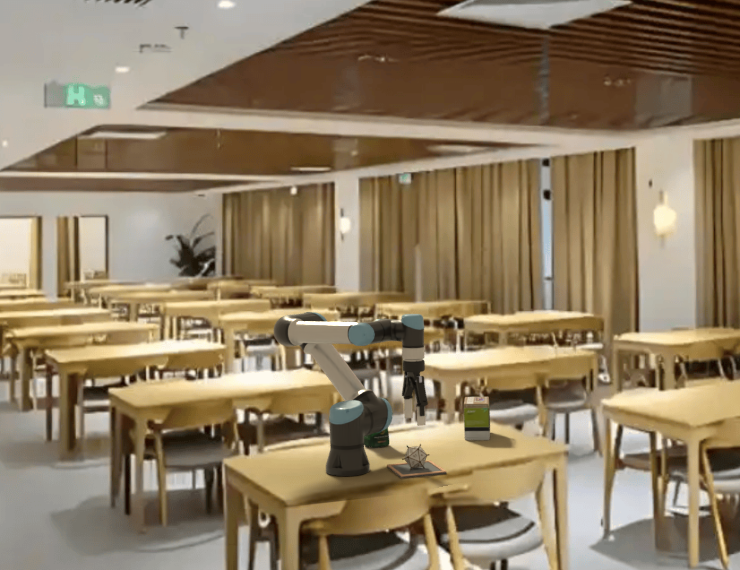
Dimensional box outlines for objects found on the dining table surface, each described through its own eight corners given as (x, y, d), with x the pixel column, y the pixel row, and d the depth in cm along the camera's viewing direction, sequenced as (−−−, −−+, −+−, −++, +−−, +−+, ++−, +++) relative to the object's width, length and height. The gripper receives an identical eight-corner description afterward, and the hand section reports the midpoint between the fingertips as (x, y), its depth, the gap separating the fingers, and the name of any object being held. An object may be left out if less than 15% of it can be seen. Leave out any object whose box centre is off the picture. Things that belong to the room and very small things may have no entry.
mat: (401, 478, 303) (401, 475, 303) (386, 467, 318) (386, 464, 318) (446, 473, 307) (446, 471, 307) (430, 462, 322) (430, 460, 322)
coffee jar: (370, 449, 345) (369, 400, 344) (360, 445, 352) (359, 397, 351) (393, 446, 349) (391, 398, 348) (382, 442, 356) (381, 395, 355)
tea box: (465, 432, 371) (464, 396, 370) (490, 432, 370) (489, 396, 369) (464, 440, 356) (463, 402, 355) (490, 440, 355) (489, 402, 354)
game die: (420, 480, 311) (426, 461, 305) (397, 470, 313) (402, 451, 307) (428, 462, 318) (434, 443, 312) (405, 453, 320) (410, 433, 314)
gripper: (436, 363, 300) (437, 427, 301) (412, 354, 324) (413, 414, 325) (414, 365, 298) (416, 429, 299) (392, 355, 322) (393, 415, 323)
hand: (414, 421), depth 312 cm, fingers open, 13 cm apart
